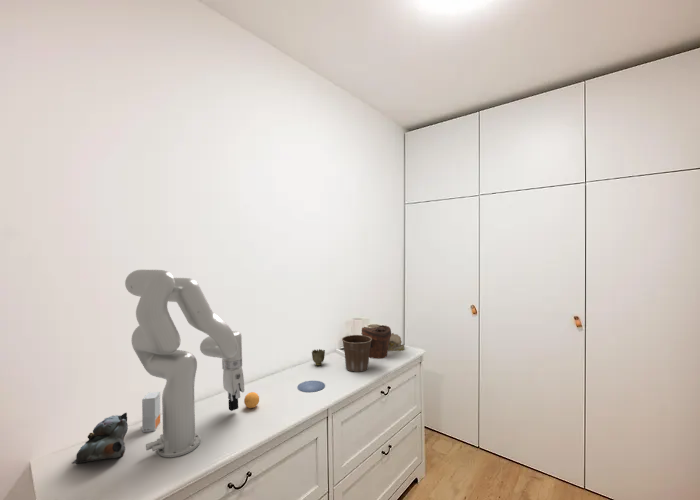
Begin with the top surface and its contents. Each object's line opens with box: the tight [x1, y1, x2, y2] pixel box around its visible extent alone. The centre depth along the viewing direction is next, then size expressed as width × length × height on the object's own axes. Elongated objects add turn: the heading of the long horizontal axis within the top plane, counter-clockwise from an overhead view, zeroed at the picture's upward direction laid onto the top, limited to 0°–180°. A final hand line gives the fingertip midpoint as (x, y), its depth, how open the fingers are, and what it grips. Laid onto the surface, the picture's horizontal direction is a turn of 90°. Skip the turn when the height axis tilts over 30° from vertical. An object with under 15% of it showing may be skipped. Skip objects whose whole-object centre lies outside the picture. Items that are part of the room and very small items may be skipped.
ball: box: [243, 391, 260, 409], centre depth 137 cm, size 6×6×6 cm
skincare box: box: [141, 391, 161, 433], centre depth 123 cm, size 6×4×12 cm
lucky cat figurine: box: [71, 412, 129, 465], centre depth 106 cm, size 15×12×14 cm
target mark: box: [296, 380, 326, 393], centre depth 158 cm, size 13×13×1 cm
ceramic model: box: [388, 332, 405, 352], centre depth 216 cm, size 14×11×10 cm
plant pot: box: [341, 334, 372, 373], centre depth 181 cm, size 16×16×16 cm
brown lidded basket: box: [360, 324, 392, 359], centre depth 203 cm, size 18×20×18 cm
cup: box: [311, 348, 326, 367], centre depth 187 cm, size 8×7×8 cm
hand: (233, 409), depth 132 cm, fingers closed
